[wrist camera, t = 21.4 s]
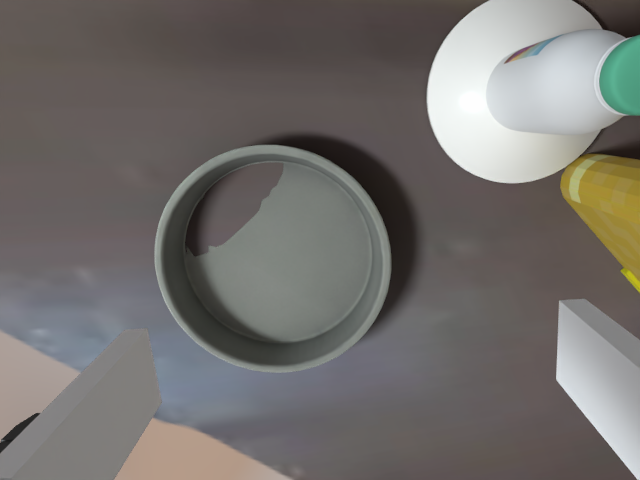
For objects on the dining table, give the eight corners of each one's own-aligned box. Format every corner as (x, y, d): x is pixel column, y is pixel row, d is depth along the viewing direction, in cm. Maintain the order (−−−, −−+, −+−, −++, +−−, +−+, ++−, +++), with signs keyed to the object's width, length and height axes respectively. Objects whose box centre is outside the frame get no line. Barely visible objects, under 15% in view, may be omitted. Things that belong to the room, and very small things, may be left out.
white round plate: (422, 3, 46) (424, 1, 45) (615, -17, 45) (621, -20, 44) (429, 188, 50) (430, 190, 49) (604, 174, 49) (609, 175, 48)
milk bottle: (544, 141, 48) (682, 159, 28) (471, 117, 47) (562, 119, 28) (577, 63, 46) (751, 25, 26) (502, 38, 45) (622, -19, 26)
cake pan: (399, 150, 50) (404, 154, 45) (376, 361, 56) (379, 382, 52) (166, 134, 50) (150, 136, 46) (169, 345, 57) (155, 364, 52)
